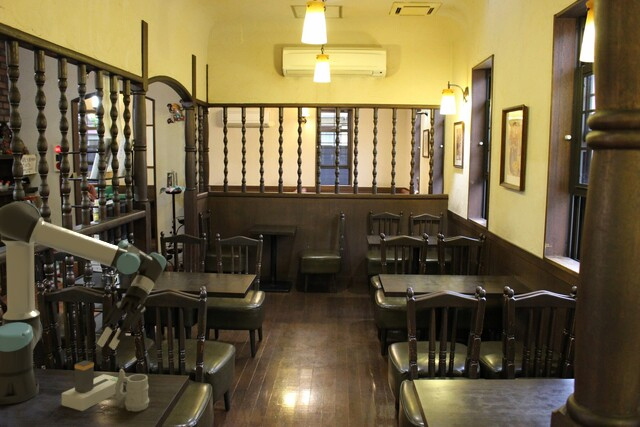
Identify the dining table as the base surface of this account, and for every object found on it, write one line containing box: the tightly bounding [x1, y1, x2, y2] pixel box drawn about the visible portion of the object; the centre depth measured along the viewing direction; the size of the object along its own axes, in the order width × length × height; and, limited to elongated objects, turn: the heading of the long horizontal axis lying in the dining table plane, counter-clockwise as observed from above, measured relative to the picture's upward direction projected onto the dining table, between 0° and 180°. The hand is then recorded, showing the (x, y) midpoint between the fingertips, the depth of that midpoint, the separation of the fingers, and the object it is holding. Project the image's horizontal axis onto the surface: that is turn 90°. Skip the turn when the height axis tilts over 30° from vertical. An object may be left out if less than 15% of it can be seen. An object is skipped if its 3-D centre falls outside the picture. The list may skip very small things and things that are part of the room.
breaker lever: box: [74, 360, 95, 393], centre depth 173 cm, size 4×4×9 cm
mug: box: [114, 368, 150, 412], centre depth 172 cm, size 8×12×12 cm, turn 78°
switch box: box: [61, 373, 124, 412], centre depth 177 cm, size 9×18×4 cm, turn 158°
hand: (105, 346), depth 181 cm, fingers open, 5 cm apart
